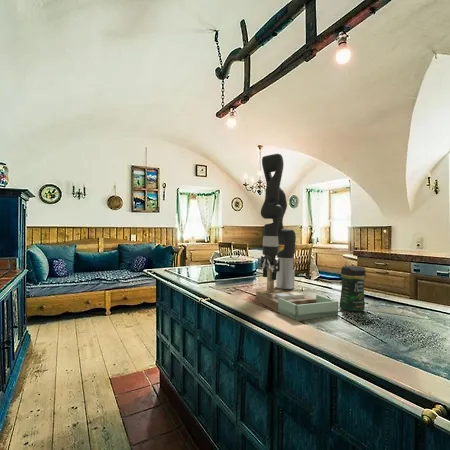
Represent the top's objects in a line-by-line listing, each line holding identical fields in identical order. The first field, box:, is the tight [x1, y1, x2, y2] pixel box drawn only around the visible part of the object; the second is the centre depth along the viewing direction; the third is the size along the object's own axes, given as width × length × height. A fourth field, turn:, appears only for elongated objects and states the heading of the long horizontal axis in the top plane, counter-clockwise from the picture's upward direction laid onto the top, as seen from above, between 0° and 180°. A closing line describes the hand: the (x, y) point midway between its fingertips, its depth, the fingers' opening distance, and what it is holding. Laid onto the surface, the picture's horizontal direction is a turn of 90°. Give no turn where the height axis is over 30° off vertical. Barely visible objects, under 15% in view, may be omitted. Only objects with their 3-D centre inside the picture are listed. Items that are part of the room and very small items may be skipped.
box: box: [277, 294, 339, 321], centre depth 118 cm, size 20×12×6 cm, turn 113°
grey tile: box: [275, 293, 291, 300], centre depth 128 cm, size 5×5×2 cm
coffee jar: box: [339, 265, 367, 312], centre depth 125 cm, size 10×8×19 cm
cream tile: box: [288, 291, 306, 299], centre depth 131 cm, size 5×5×2 cm
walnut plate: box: [257, 290, 316, 312], centre depth 131 cm, size 20×16×4 cm
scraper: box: [255, 267, 285, 299], centre depth 144 cm, size 14×3×14 cm, turn 113°
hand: (269, 278), depth 144 cm, fingers open, 8 cm apart
